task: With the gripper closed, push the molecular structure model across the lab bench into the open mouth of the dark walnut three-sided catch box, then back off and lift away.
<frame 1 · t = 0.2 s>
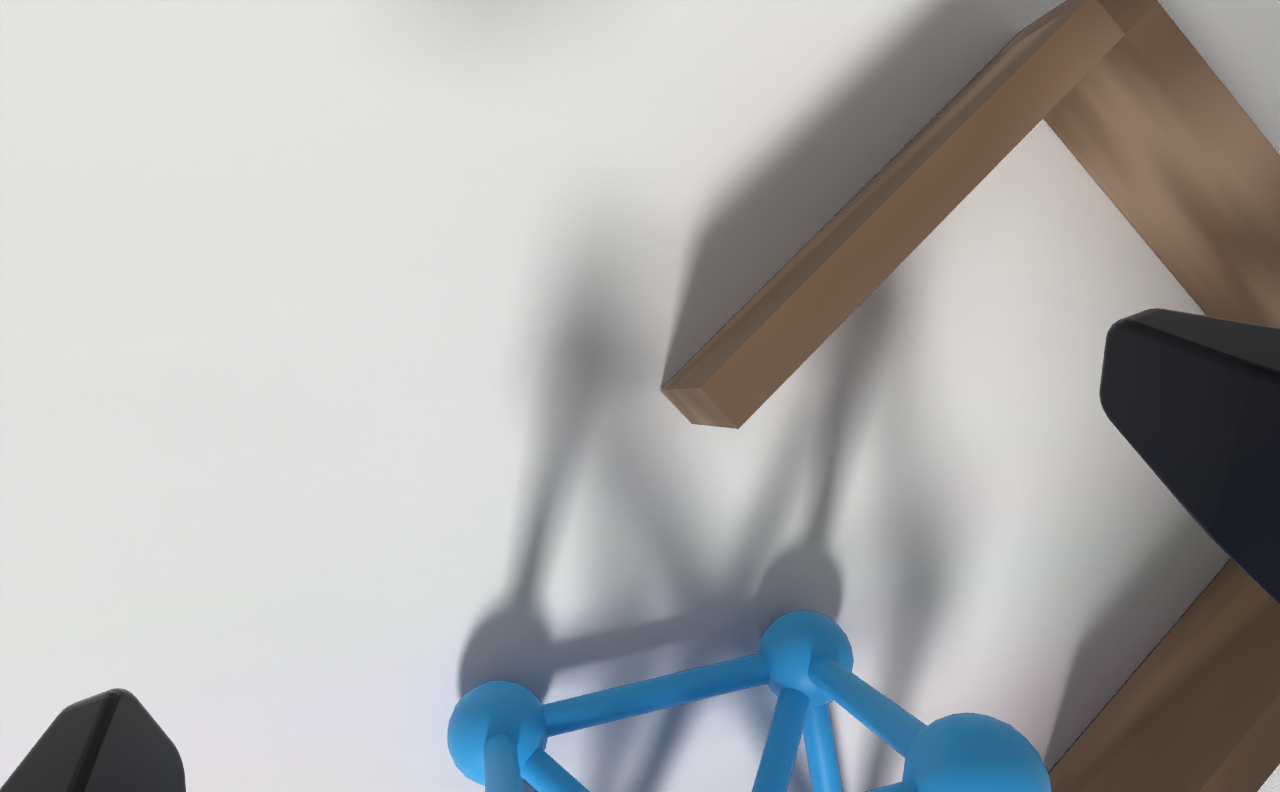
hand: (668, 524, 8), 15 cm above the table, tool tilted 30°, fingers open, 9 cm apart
catch box: (1029, 439, 25), on the table
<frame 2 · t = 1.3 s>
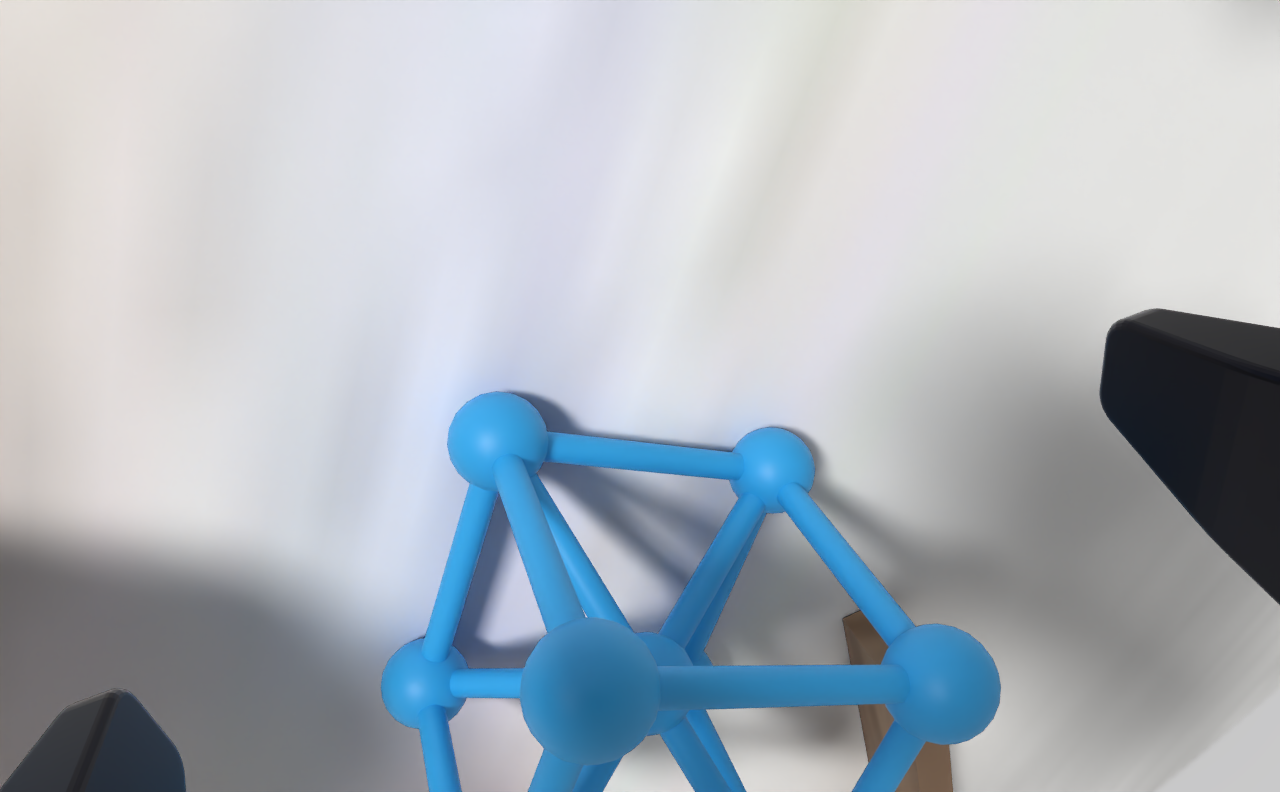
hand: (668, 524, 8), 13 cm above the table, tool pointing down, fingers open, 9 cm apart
molecular structure: (585, 544, 25), on the table
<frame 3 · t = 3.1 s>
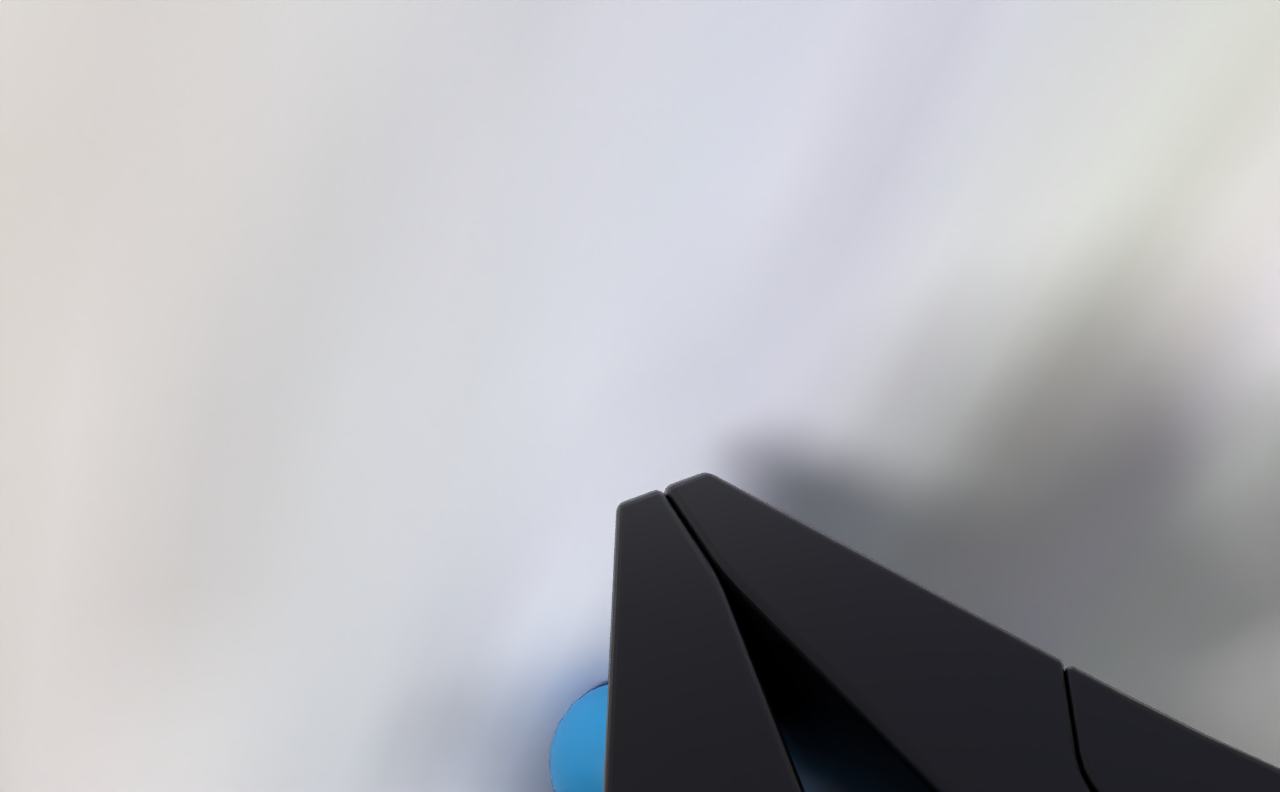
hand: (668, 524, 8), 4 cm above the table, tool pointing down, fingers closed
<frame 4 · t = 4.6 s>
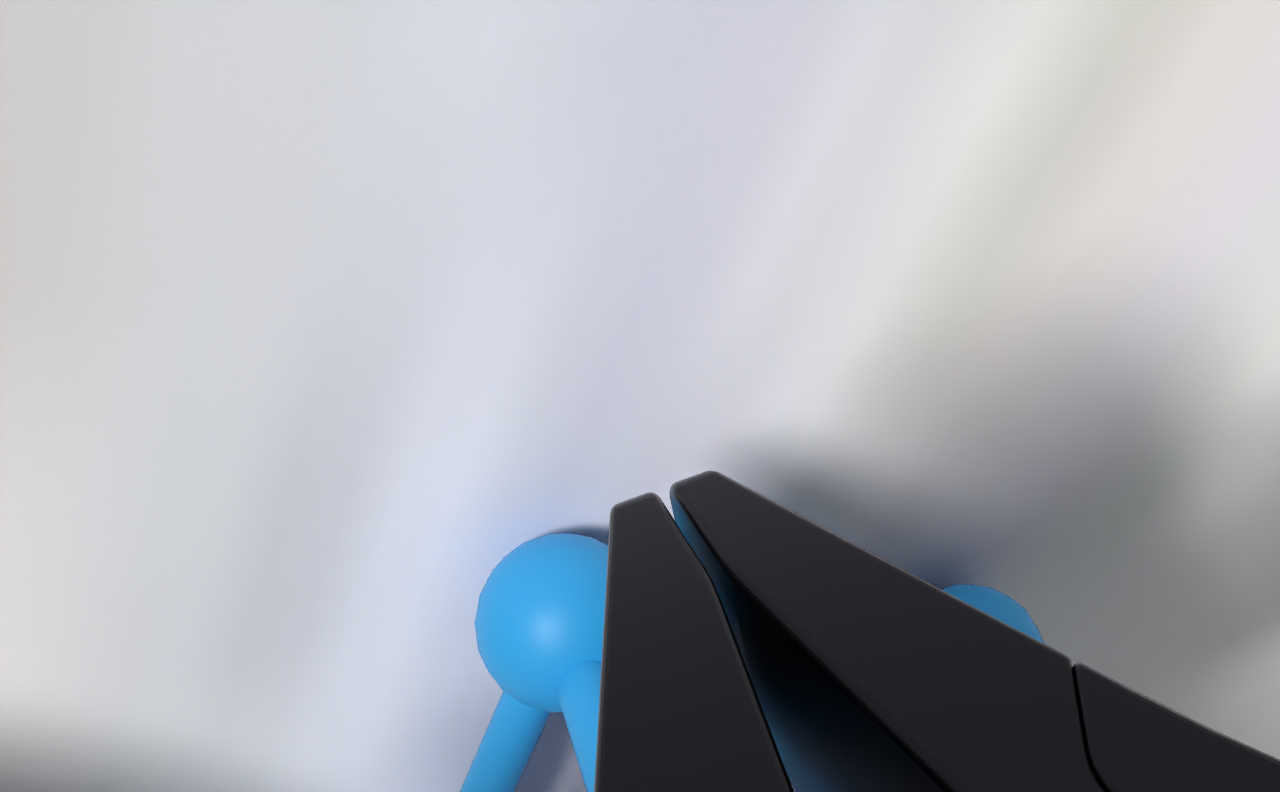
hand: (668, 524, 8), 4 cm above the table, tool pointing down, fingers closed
molecular structure: (667, 743, 16), on the table, touching gripper
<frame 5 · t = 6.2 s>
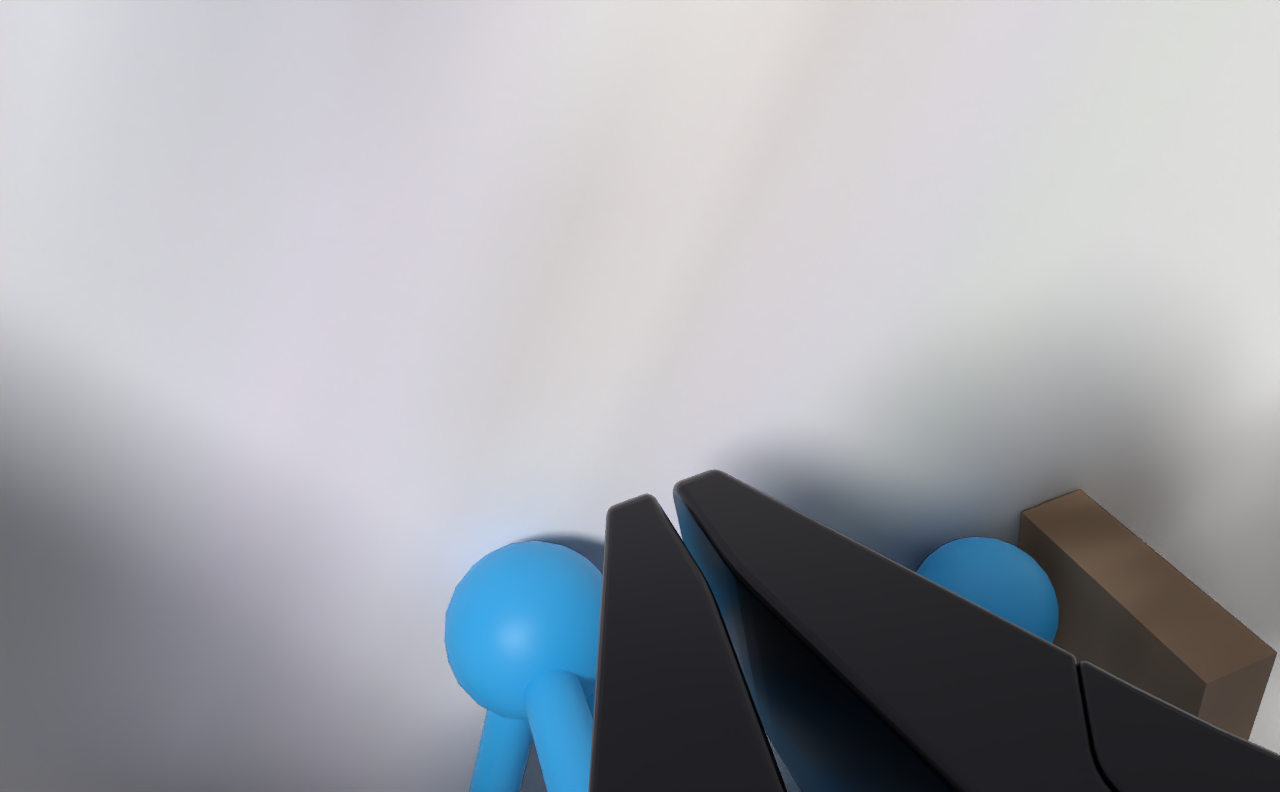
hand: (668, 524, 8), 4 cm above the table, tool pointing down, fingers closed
molecular structure: (684, 725, 16), on the table, touching gripper
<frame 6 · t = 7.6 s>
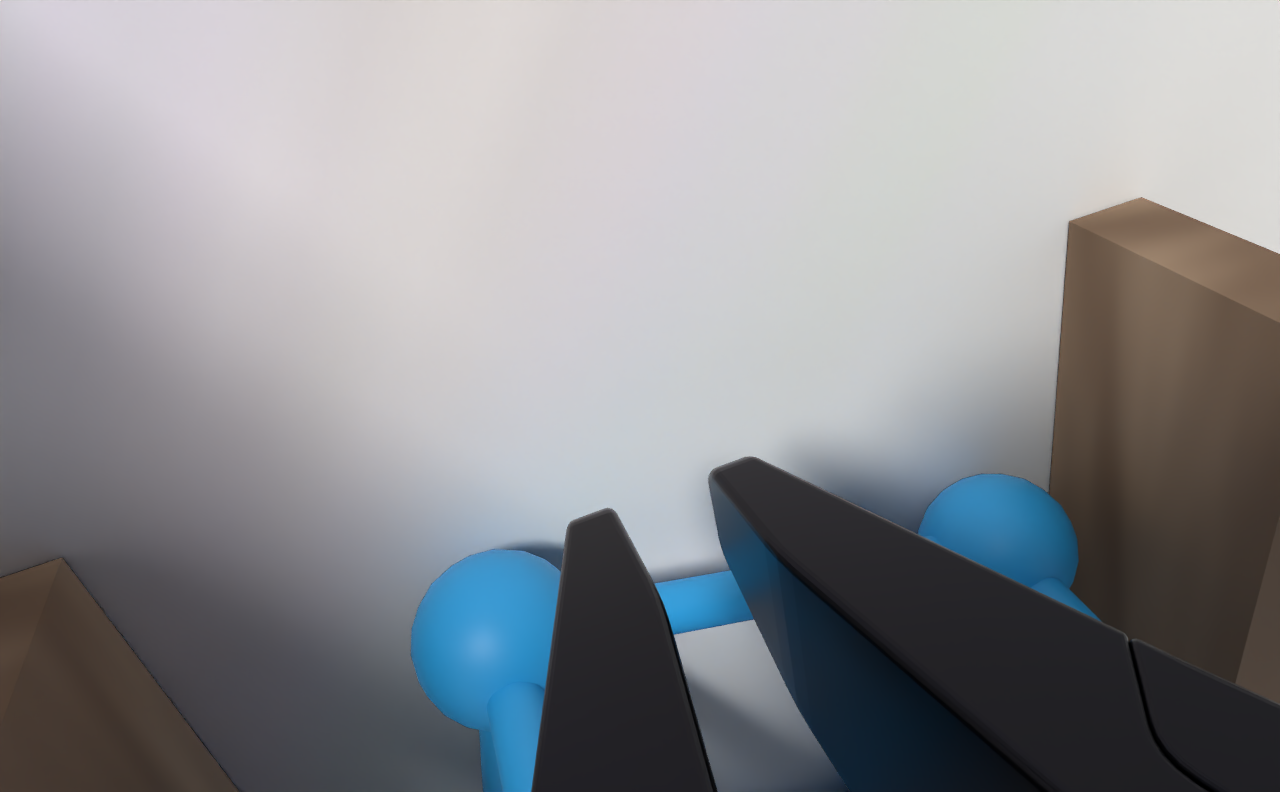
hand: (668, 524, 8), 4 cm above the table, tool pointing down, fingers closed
molecular structure: (710, 699, 16), on the table, touching catch box, gripper
catch box: (688, 688, 16), on the table
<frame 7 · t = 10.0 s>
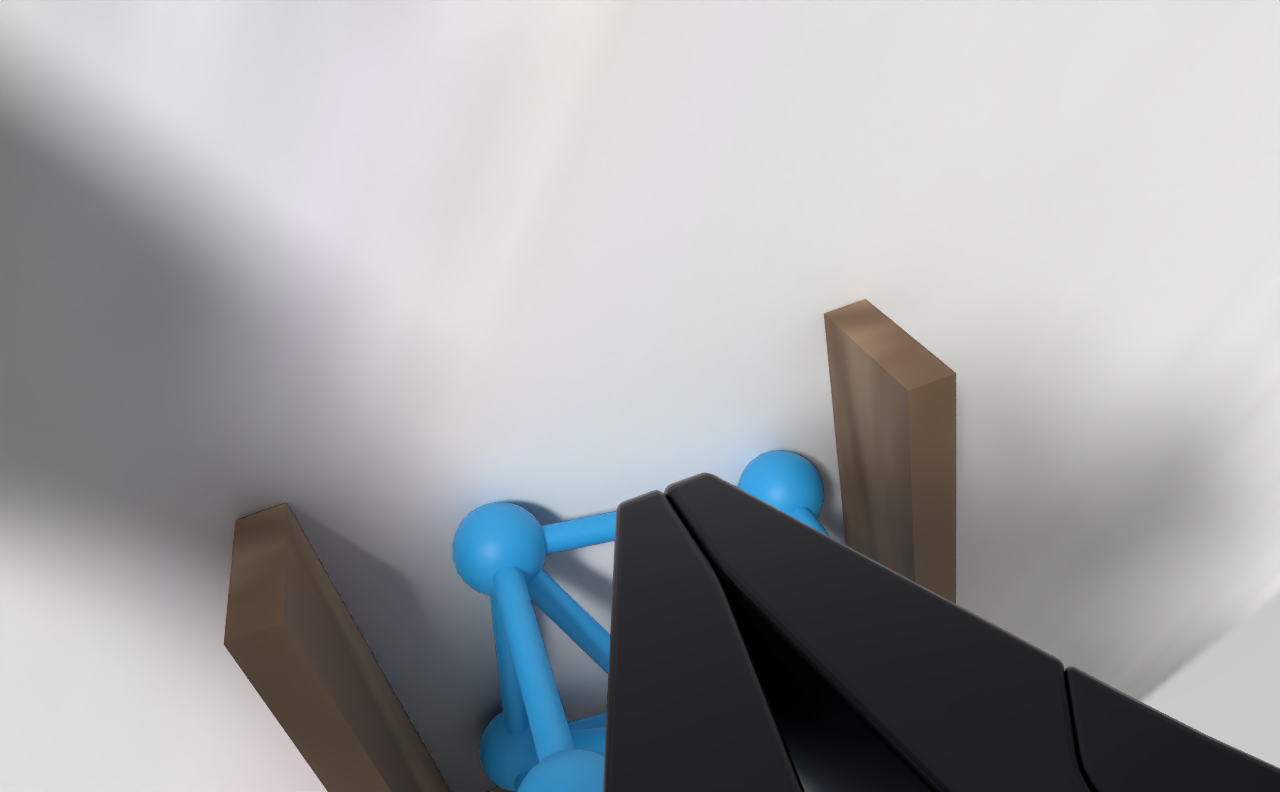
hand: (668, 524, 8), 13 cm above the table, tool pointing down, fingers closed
molecular structure: (630, 593, 27), on the table
catch box: (622, 584, 26), on the table
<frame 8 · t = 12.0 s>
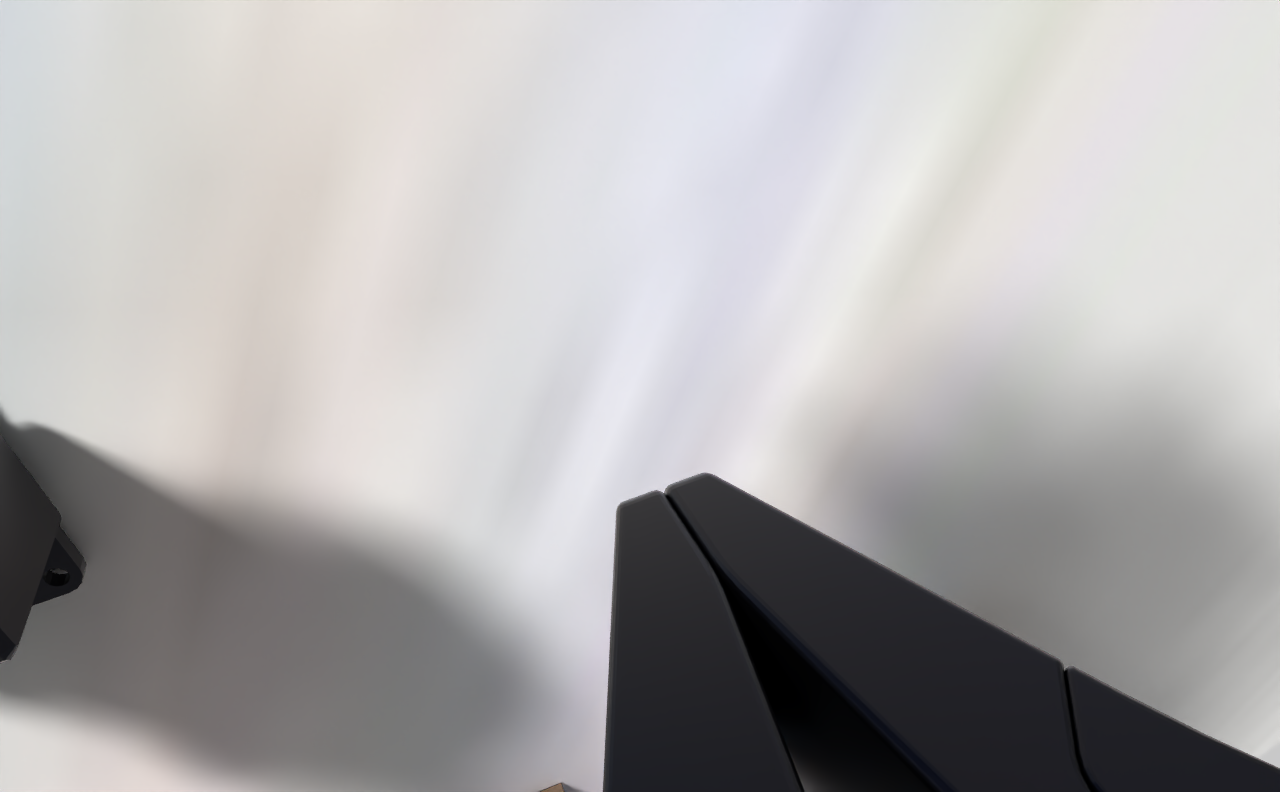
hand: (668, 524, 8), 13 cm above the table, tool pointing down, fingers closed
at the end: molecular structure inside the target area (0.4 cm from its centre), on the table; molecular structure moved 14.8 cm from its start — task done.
